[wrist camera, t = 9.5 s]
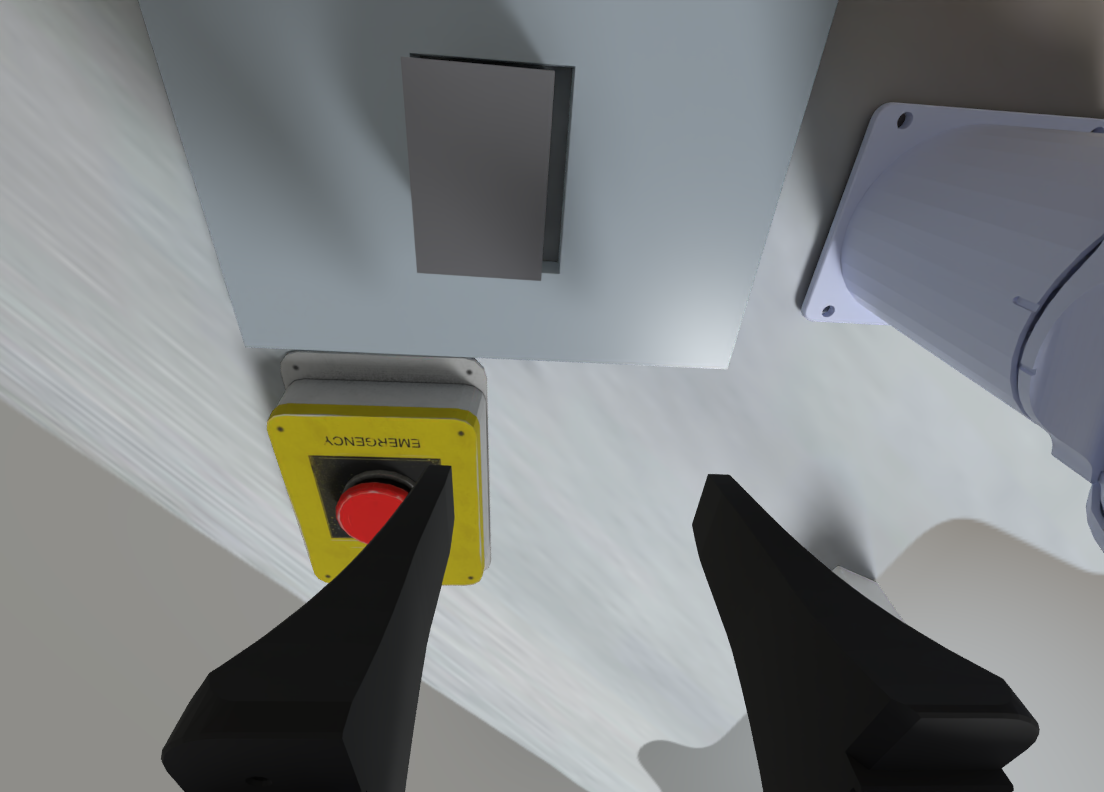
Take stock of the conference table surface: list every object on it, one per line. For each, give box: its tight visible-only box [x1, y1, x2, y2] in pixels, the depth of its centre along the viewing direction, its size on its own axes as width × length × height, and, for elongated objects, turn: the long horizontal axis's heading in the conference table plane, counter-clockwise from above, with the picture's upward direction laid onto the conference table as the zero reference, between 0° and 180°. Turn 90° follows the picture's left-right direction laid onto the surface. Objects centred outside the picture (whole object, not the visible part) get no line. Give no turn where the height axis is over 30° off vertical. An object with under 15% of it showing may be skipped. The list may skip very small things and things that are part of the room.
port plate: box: [138, 0, 839, 369], centre depth 17 cm, size 20×14×2 cm
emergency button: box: [267, 351, 491, 586], centre depth 24 cm, size 9×4×15 cm
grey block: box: [401, 57, 555, 281], centre depth 15 cm, size 4×5×6 cm
